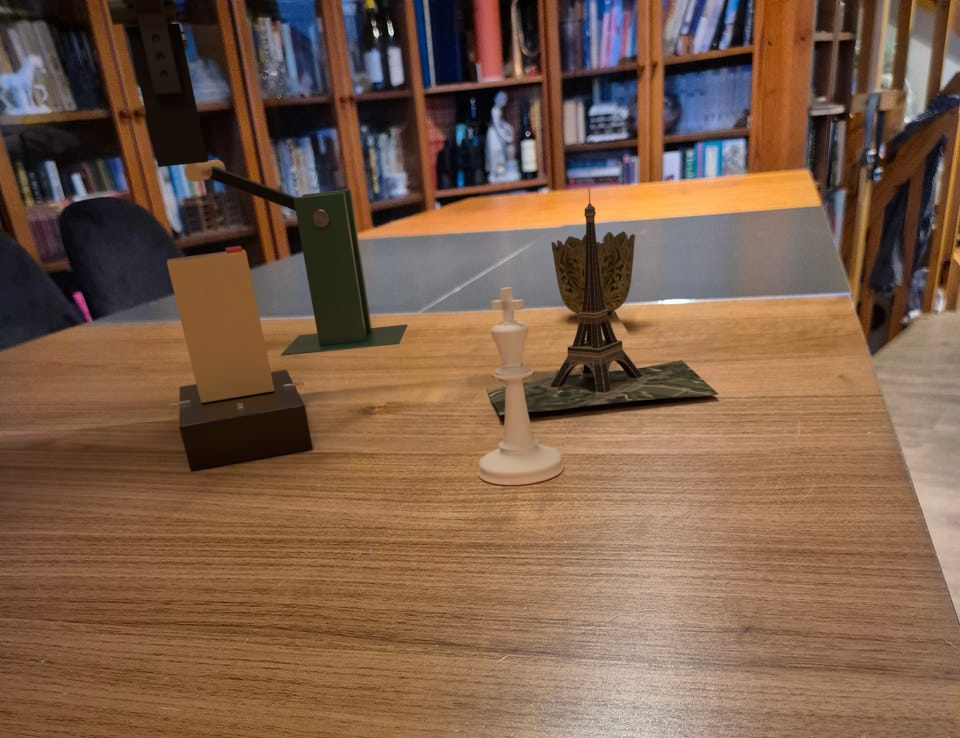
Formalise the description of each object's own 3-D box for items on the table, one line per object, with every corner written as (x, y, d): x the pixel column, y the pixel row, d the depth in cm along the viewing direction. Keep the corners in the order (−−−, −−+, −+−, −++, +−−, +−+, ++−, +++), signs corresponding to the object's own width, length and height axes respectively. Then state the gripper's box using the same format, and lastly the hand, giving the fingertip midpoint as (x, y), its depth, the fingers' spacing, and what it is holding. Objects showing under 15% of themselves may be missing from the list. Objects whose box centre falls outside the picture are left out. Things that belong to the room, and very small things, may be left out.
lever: (181, 183, 79) (187, 153, 78) (207, 179, 86) (212, 151, 85) (331, 239, 81) (338, 210, 80) (344, 230, 88) (350, 204, 87)
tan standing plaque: (201, 403, 63) (165, 257, 59) (200, 397, 65) (166, 255, 60) (274, 391, 64) (245, 247, 60) (272, 385, 66) (243, 245, 61)
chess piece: (505, 454, 57) (489, 280, 52) (578, 460, 54) (569, 278, 49) (462, 481, 53) (441, 297, 48) (538, 489, 51) (525, 296, 46)
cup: (550, 340, 85) (544, 245, 81) (563, 323, 91) (558, 235, 87) (632, 335, 83) (630, 239, 79) (640, 319, 89) (638, 228, 85)
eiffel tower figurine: (496, 425, 62) (476, 206, 56) (486, 389, 71) (468, 197, 65) (719, 400, 62) (725, 179, 56) (681, 367, 71) (682, 173, 65)
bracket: (283, 367, 86) (250, 203, 79) (301, 347, 94) (272, 196, 87) (400, 355, 85) (378, 189, 78) (409, 336, 93) (388, 184, 86)
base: (181, 427, 70) (170, 385, 69) (302, 407, 72) (294, 365, 70) (181, 473, 60) (168, 425, 58) (322, 448, 62) (313, 400, 60)
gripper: (150, -432, 37) (258, 158, 48) (160, -222, 59) (233, 155, 69) (-50, -437, 36) (106, 174, 46) (35, -219, 57) (129, 166, 67)
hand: (183, 164), depth 58 cm, fingers open, 13 cm apart
